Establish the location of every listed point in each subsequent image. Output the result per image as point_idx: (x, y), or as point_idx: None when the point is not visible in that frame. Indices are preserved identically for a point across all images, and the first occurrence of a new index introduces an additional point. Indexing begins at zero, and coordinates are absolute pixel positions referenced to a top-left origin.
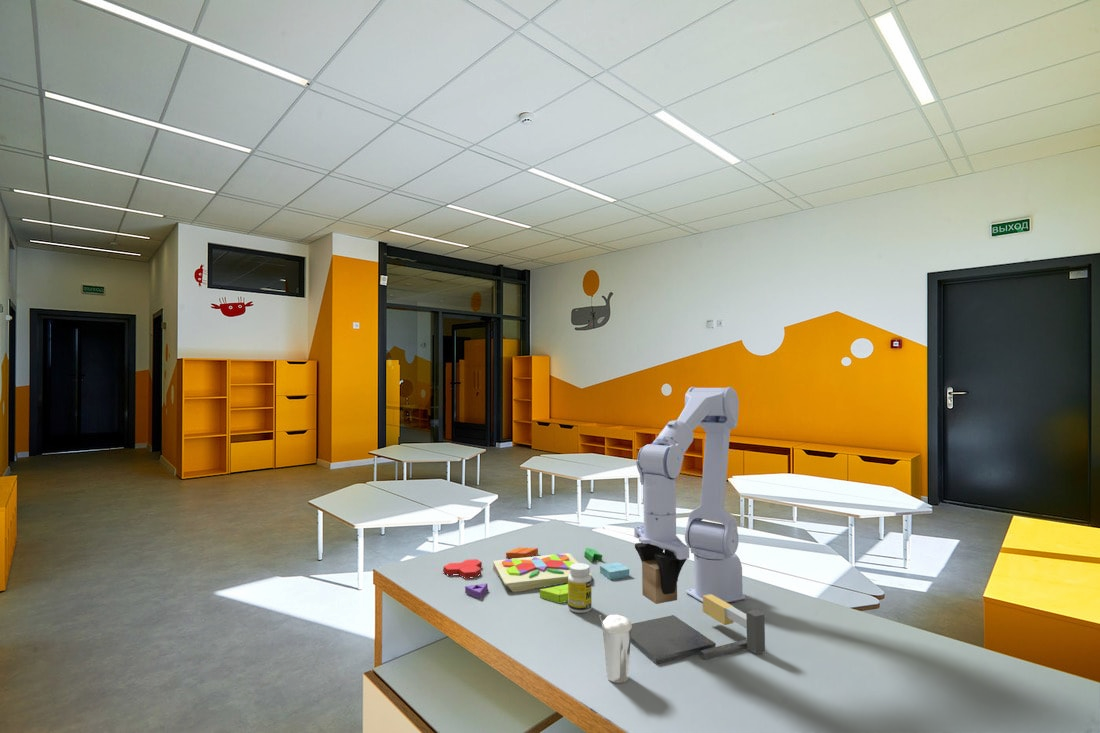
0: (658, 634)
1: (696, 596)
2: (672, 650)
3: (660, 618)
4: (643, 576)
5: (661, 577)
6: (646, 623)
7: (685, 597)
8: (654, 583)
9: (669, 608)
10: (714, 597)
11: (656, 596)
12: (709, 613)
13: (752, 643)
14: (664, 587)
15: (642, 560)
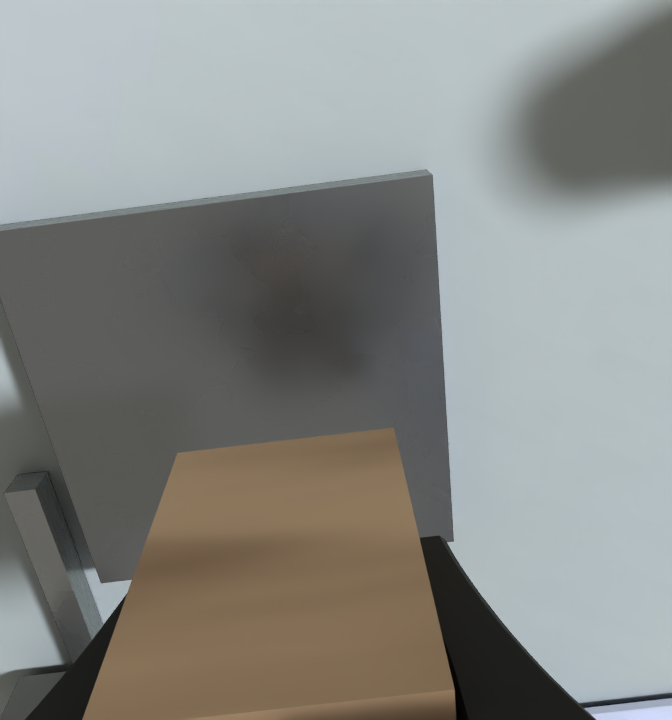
0: (254, 371)
1: (616, 715)
2: (54, 363)
3: (442, 464)
4: (393, 544)
5: (92, 684)
6: (408, 365)
7: (657, 671)
8: (161, 569)
9: (583, 559)
10: None
11: (165, 495)
12: None
13: (22, 707)
14: (111, 615)
15: (525, 704)
